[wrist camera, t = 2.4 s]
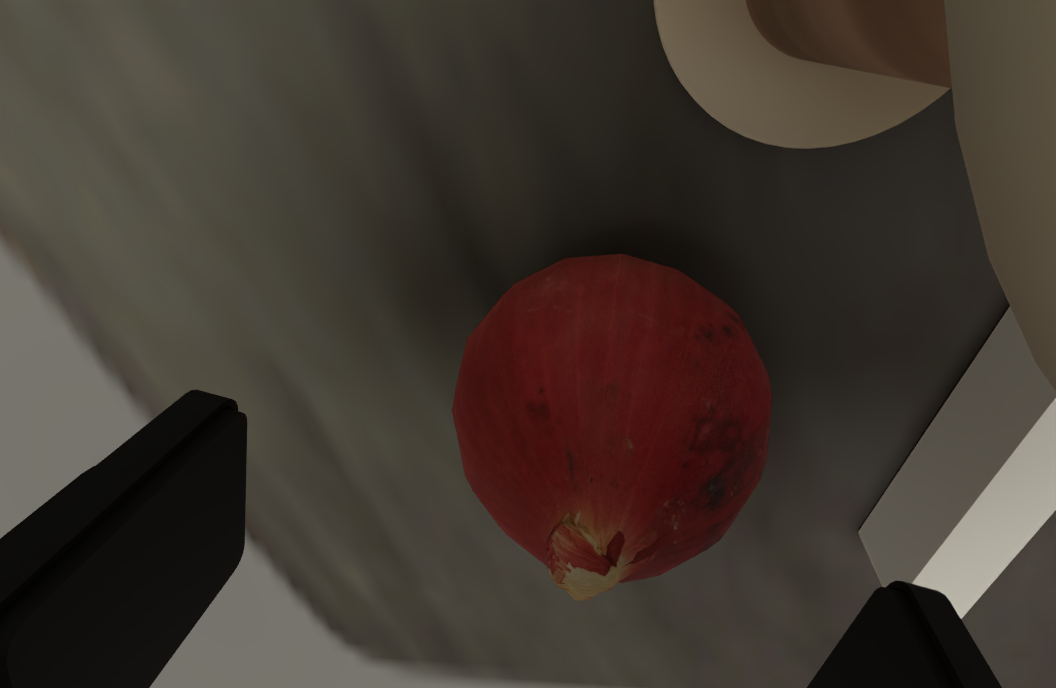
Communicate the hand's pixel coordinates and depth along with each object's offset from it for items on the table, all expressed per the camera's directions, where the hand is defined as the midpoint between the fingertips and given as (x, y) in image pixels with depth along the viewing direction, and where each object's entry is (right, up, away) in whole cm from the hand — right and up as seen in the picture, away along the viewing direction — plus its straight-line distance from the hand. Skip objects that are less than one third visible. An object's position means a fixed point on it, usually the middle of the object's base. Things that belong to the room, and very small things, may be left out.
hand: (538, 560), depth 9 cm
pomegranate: (+2, +4, +6) cm, 7 cm away
